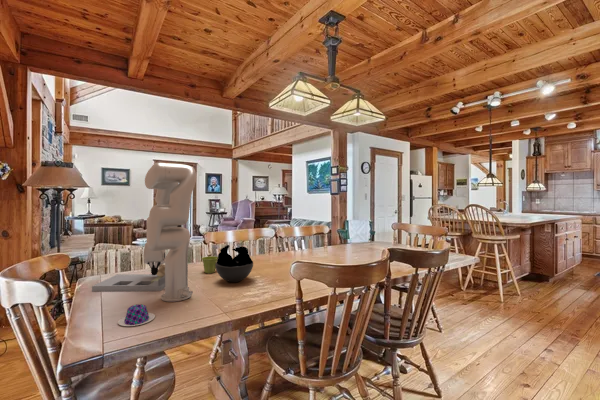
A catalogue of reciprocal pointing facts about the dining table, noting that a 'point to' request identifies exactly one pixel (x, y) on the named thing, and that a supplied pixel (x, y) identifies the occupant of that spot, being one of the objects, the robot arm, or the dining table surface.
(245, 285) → the dining table surface
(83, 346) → the dining table surface
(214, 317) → the dining table surface
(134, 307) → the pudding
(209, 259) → the plant pot
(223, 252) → the black bowl plant
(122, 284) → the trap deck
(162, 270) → the block
